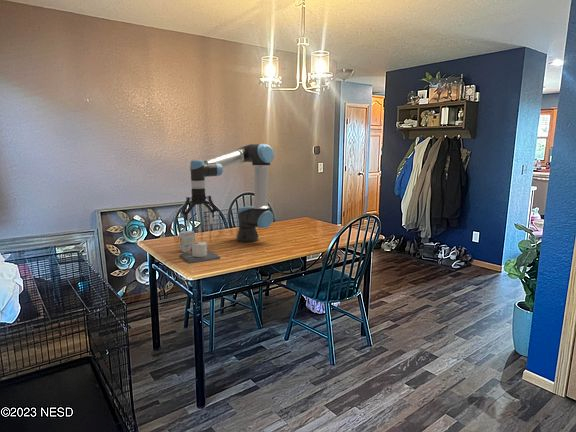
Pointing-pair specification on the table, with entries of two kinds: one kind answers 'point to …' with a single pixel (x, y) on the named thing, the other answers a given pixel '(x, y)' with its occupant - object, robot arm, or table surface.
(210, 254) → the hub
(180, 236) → the ink box
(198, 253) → the light grey boxy piece
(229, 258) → the table surface
